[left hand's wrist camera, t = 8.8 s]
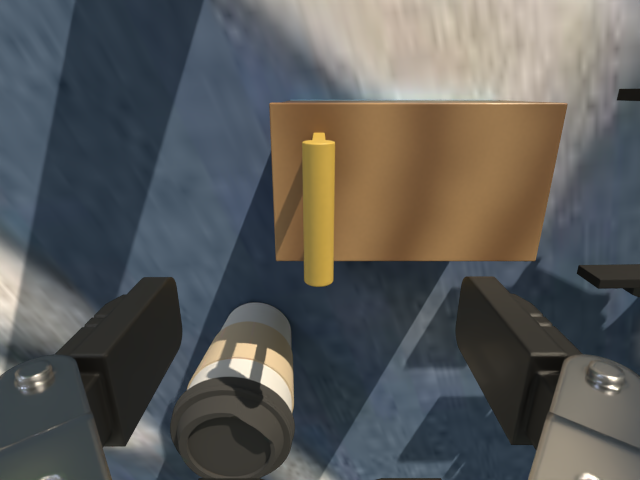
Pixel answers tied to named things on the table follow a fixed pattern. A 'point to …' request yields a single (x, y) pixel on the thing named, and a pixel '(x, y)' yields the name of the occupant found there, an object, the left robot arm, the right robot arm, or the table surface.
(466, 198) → the lid
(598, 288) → the right robot arm
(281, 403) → the coffee cup
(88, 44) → the table surface
